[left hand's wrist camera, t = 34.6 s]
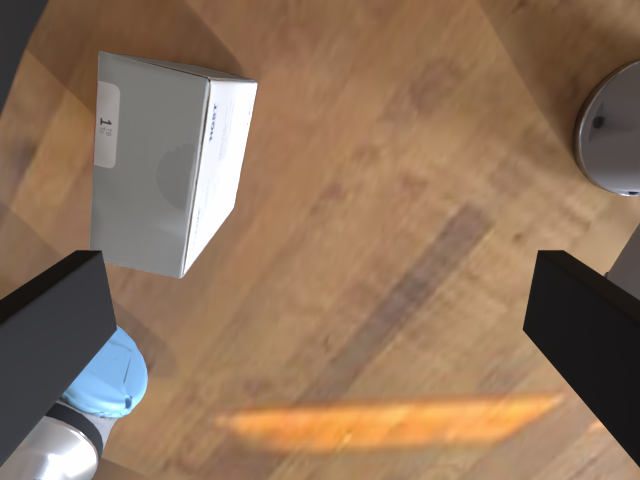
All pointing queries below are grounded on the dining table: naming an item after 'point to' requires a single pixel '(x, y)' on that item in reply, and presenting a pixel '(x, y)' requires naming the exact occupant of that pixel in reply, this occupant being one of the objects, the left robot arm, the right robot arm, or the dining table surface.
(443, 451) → the dining table surface
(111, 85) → the hard drive box
